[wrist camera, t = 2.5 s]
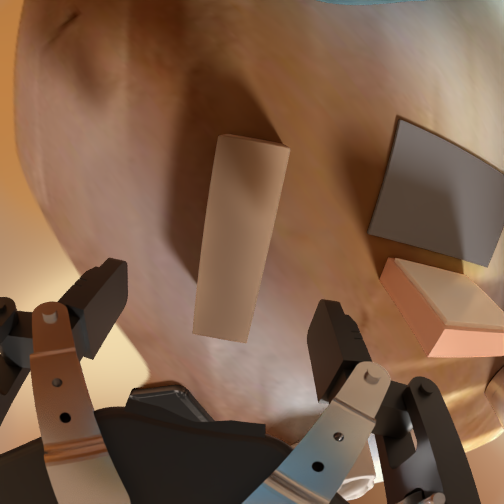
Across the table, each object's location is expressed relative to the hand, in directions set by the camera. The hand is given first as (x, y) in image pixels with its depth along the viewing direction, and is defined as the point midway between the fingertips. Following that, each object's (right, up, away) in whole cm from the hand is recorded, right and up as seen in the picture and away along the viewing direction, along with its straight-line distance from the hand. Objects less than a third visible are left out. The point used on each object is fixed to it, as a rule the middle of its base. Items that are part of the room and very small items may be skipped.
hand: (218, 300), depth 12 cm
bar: (0, +4, +9) cm, 10 cm away
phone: (-7, -19, +19) cm, 28 cm away
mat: (+17, +6, +7) cm, 20 cm away
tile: (+16, 0, +10) cm, 19 cm away
